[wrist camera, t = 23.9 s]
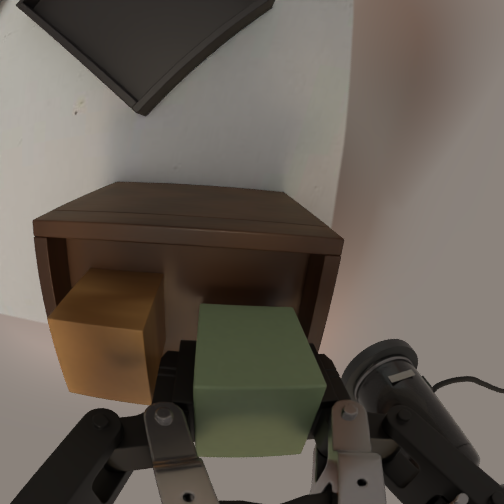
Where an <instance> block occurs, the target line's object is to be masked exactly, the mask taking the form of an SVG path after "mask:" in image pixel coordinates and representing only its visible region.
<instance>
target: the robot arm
mask: <svg viewBox="0 0 504 504" xmlns="http://www.w3.org/2000/svg"><path fill="white" fill-rule="evenodd" d="M196 342H197V341H196V340H181V341H180V347H179V351H167V352H166V353H165V354H164V355H163V356H162V357H161V360H160V365H159V370H158V376H157V379H156V384H155V389H154V394H153V399H152V403H151V405H150V406H149V407H148V408H147V409H146V410H145V412H144V413H142V414H139V415H136V416H131V417H121V418H119V416H118V415H117V414H116V413H115V412H113V411H112V410H109V409H104V408H98V409H94V410H91V411H89V412H88V413H87V414H85V416H84V417H83V418H82V419H81V420H80V421H79V422H78V424H77V425H76V426H75V427H74V428H73V429H72V431H71V432H70V433H69V434H68V435H67V436H66V438H65V439H64V440H63V441H62V442H61V443H60V445H59V446H58V447H57V448H56V449H55V451H54V452H53V453H52V454H51V455H50V456H49V458H48V459H47V460H46V461H45V462H44V464H43V465H42V466H41V467H40V468H39V470H38V471H37V472H36V473H35V474H34V475H33V477H32V478H31V479H30V480H29V482H28V483H27V484H26V485H25V486H24V487H23V489H22V490H21V491H20V492H19V494H18V495H17V496H16V497H15V498H14V500H13V501H12V502H11V503H10V504H113V503H114V501H115V500H116V498H117V497H118V495H119V493H120V492H121V490H122V488H123V487H124V485H125V483H126V482H127V480H128V479H129V477H130V475H131V474H132V472H133V470H140V469H147V468H153V470H154V474H155V478H156V483H157V487H158V490H159V494H160V498H161V502H162V504H259V503H252V502H247V501H218V499H217V496H216V494H215V492H214V489H213V486H212V484H211V481H210V478H209V476H208V473H207V471H206V468H205V465H204V463H203V461H202V459H201V458H199V457H198V454H197V451H196V448H195V445H194V443H193V442H195V428H194V399H193V382H194V368H195V354H196ZM309 345H310V347H311V350H312V352H313V354H314V357H315V359H316V361H317V363H318V366H319V368H320V370H321V373H322V375H323V377H324V380H325V382H326V384H327V387H326V390H325V393H324V396H323V398H322V401H321V404H320V406H319V409H318V412H317V414H316V417H315V420H314V422H313V425H312V427H311V430H310V432H309V435H308V437H307V439H315V442H316V445H315V448H314V452H313V470H312V486H311V490H310V494H309V495H305V496H302V497H299V498H296V499H293V500H291V501H288V502H285V503H282V504H386V494H385V485H386V486H387V487H388V489H389V490H390V491H391V492H392V493H393V494H394V495H395V496H396V497H397V498H398V499H399V500H400V501H401V502H402V503H403V504H504V484H501V485H499V484H498V483H497V482H496V481H494V480H493V479H492V478H491V477H490V476H488V475H487V474H486V473H485V472H484V471H483V470H482V469H480V468H479V467H478V466H479V464H480V458H479V455H478V453H477V452H476V450H475V449H474V448H473V446H472V445H471V443H470V442H469V440H468V439H467V437H466V436H465V435H464V433H463V432H462V430H461V429H460V427H459V426H458V425H457V423H456V422H455V421H454V419H453V418H452V417H451V415H450V414H449V412H448V411H447V410H446V409H445V407H444V406H443V404H442V403H441V402H440V400H439V399H438V397H437V396H436V395H435V394H434V392H435V391H436V390H437V389H439V388H441V387H443V386H445V385H448V384H451V383H456V382H465V381H469V382H474V383H476V384H479V385H481V386H484V387H486V388H488V389H491V390H494V391H496V392H499V393H504V389H501V388H498V387H495V386H493V385H491V384H489V383H487V382H484V381H482V380H480V379H478V378H475V377H471V376H464V377H456V378H451V379H447V380H444V381H441V382H439V383H437V384H435V385H434V386H433V387H431V385H430V384H429V383H428V382H427V380H426V379H425V378H424V376H421V375H420V374H419V372H418V371H417V370H416V369H415V367H414V366H413V364H412V362H411V361H410V360H409V358H408V357H406V356H405V355H402V354H392V355H388V356H385V357H383V358H380V359H378V360H377V361H375V362H373V363H372V364H371V365H369V366H368V367H367V368H366V369H365V370H364V371H363V372H362V373H361V374H360V375H359V377H358V378H357V380H356V382H355V384H354V387H353V394H354V397H355V399H356V401H357V402H356V401H353V400H351V398H350V396H349V394H348V392H347V390H346V388H345V386H344V384H343V382H342V380H341V378H340V377H339V374H338V372H337V371H336V368H335V366H334V364H333V362H332V360H330V359H329V358H328V357H327V356H326V355H325V354H318V352H317V350H316V348H315V346H314V344H313V343H309ZM384 484H385V485H384Z"/></svg>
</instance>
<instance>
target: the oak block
mask: <svg viewBox="0 0 504 504" xmlns="http://www.w3.org/2000/svg"><path fill="white" fill-rule="evenodd" d="M47 319H48V324H49V328H50V332H51V335H52V339H53V343H54V346H55V349H56V353H57V356H58V360H59V363H60V366H61V369H62V372H63V375H64V378H65V381H66V384H67V387H68V389H69V391H70V392H72V393H77V394H82V395H87V396H92V397H97V398H103V399H108V400H115V401H121V402H128V403H135V404H143V405H151V403H152V399H153V394H154V389H155V384H156V379H157V376H158V370H159V365H160V360H161V357H162V355H163V350H164V346H165V341H166V333H165V309H164V274H158V273H145V272H131V271H119V270H106V269H94V268H90V269H89V270H88V271H87V272H86V273H85V274H84V276H83V277H82V278H81V279H80V280H79V281H78V282H77V283H76V285H75V286H74V287H73V288H72V289H71V290H70V292H69V293H68V294H67V295H66V296H65V297H64V299H63V300H62V301H61V302H60V303H59V304H58V306H57V307H56V308H55V309H54V310H53V312H52V313H51V314H50V315H49V317H48V318H47Z"/></svg>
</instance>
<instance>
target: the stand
mask: <svg viewBox="0 0 504 504" xmlns="http://www.w3.org/2000/svg"><path fill="white" fill-rule="evenodd" d="M33 231H34V236H35V237H34V243H35V252H36V259H37V266H38V273H39V279H40V284H41V290H42V295H43V300H44V305H45V309H46V314H47V318H48V317H49V315H50V314H51V313H52V312H53V310H54V309H55V308H56V307H57V306H58V304H59V303H60V302H61V301H62V300H63V299H64V297H65V296H66V295H67V294H68V293H69V292H70V290H71V289H72V288H73V287H74V286H75V285H76V283H77V282H78V281H79V280H80V279H81V278H82V277H83V276H84V274H85V273H86V272H87V271H88V270H89V269H90V268H94V269H106V270H119V271H131V272H145V273H158V274H164V309H165V333H166V341H165V346H164V350H163V355H164V354H165V353H166V352H167V351H179V347H180V341H181V340H196V341H197V330H198V319H199V308H200V304H202V303H203V304H221V305H242V306H269V307H293V309H294V311H295V313H296V315H297V318H298V320H299V322H300V325H301V327H302V329H303V331H304V334H305V336H306V338H307V340H308V343H313V344H314V346H315V348H316V350H317V352H318V350H319V347H320V344H321V340H322V336H323V332H324V328H325V324H326V321H327V316H328V313H329V308H330V304H331V300H332V296H333V292H334V287H335V283H336V278H337V274H338V269H339V264H340V259H341V256H340V255H341V253H342V248H343V243H344V239H343V238H342V237H341V236H339V235H338V234H337V233H336V232H334V231H333V230H332V229H331V228H329V226H327V225H326V224H325V223H323V222H322V221H321V220H320V219H318V218H317V217H316V216H314V215H313V214H312V213H311V212H309V211H308V210H307V209H305V208H304V207H303V206H301V205H300V204H299V203H297V202H296V201H295V200H293V199H292V198H291V197H289V196H288V195H287V194H285V193H284V192H277V191H266V190H256V189H244V188H232V187H219V186H204V185H188V184H168V183H144V182H115V183H113V184H110V185H108V186H105V187H103V188H100V189H98V190H96V191H93V192H91V193H89V194H86V195H84V196H82V197H80V198H77V199H75V200H73V201H71V202H69V203H66V204H64V205H62V206H60V207H58V208H56V209H54V210H52V211H50V212H48V213H46V214H44V215H42V216H40V217H38V218H36V219H34V220H33ZM163 355H162V356H163Z"/></svg>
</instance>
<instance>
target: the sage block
mask: <svg viewBox="0 0 504 504" xmlns="http://www.w3.org/2000/svg"><path fill="white" fill-rule="evenodd" d="M326 387H327V384H326V382H325V380H324V377H323V375H322V373H321V370H320V368H319V366H318V363H317V361H316V359H315V357H314V354H313V352H312V350H311V347H310V345H309V343H308V340H307V338H306V336H305V334H304V331H303V329H302V327H301V325H300V322H299V320H298V318H297V315H296V313H295V311H294V309H293V307H269V306H242V305H221V304H203V303H202V304H200V308H199V319H198V330H197V342H196V354H195V368H194V382H193V399H194V428H195V448H196V451H197V454H198V456H199V457H263V456H281V455H293V454H300V453H301V452H302V449H303V447H304V445H305V442H306V440H307V437H308V435H309V432H310V430H311V427H312V425H313V422H314V420H315V417H316V414H317V412H318V409H319V406H320V404H321V401H322V398H323V396H324V393H325V390H326Z"/></svg>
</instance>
